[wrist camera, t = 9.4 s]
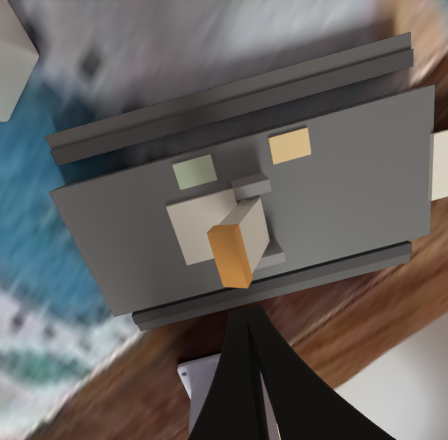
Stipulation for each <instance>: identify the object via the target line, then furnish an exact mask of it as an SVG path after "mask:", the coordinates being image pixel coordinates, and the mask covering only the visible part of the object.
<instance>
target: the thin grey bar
mask: <svg viewBox="0 0 448 440" xmlns="http://www.w3.org/2000/svg"><path fill="white" fill-rule="evenodd" d="M411 253H412V243H411V242H410V241H408V240H407V241H403V242H399V243H396V244H392V245H388V246H384V247H380V248H376V249H373V250H369V251H365V252H361V253H357V254H353V255H350V256H346V257H342V258H338V259H334V260H330V261H327V262H323V263H319V264H315V265H311V266H307V267H304V268H300V269H296V270H292V271H288V272H284V273H281V274H277V275H273V276H269V277H265V278H261V279H258V280H254V281H251V283H250V285H249V287H248V288H235V287H227V288H223V289H219V290H216V291H212V292H208V293H204V294H200V295H196V296H193V297H189V298H185V299H181V300H177V301H173V302H170V303H166V304H162V305H158V306H154V307H150V308H147V309H143V310H139V311H135V312H133V313H132V318H133V320H134V322H135V324H136V325H138V327H139V329H140V331H144V330H148V329H152V328H156V327H160V326H164V325H168V324H171V323H175V322H179V321H183V320H187V319H191V318H195V317H199V316H202V315H206V314H210V313H214V312H218V311H222V310H226V309H229V308H233V307H237V306H241V305H245V304H249V303H253V302H257V301H260V300H264V299H268V298H272V297H276V296H280V295H284V294H287V293H291V292H295V291H299V290H303V289H307V288H311V287H315V286H318V285H322V284H326V283H330V282H334V281H338V280H342V279H345V278H349V277H353V276H357V275H361V274H365V273H369V272H373V271H376V270H380V269H384V268H388V267H392V266H396V265H400V264H403V263H407V262H410V254H411Z"/></svg>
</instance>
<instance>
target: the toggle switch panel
mask: <svg viewBox="0 0 448 440" xmlns="http://www.w3.org/2000/svg"><path fill="white" fill-rule="evenodd" d="M434 99H435V85H430V86H424V87H419V88H413V89H408V90H404V91H401V92H397V93H394V94H390V95H386V96H383V97H379V98H376V99H372V100H368V101H365V102H361V103H358V104H354V105H350V106H347V107H343V108H340V109H336V110H332V111H329V112H325V113H322V114H318V115H314V116H311V117H307V118H304V119H300V120H297V121H293V122H289V123H286V124H282V125H279V126H275V127H271V128H268V129H264V130H261V131H257V132H253V133H250V134H246V135H243V136H239V137H235V138H232V139H228V140H225V141H221V142H217V143H214V144H210V145H207V146H203V147H199V148H196V149H192V150H189V151H185V152H181V153H178V154H174V155H171V156H167V157H164V158H160V159H156V160H153V161H149V162H146V163H142V164H138V165H135V166H131V167H128V168H124V169H120V170H117V171H113V172H110V173H106V174H102V175H99V176H95V177H92V178H88V179H84V180H81V181H77V182H74V183H70V184H66V185H64V186H61V187H59V188H57V189H55V190H52V191H50V192H49V194H50V196H51V198H52V199H53V201H54V203H55V205H56V207H57V209H58V211H59V213H60V215H61V217H62V218H63V220H64V222H65V224H66V226H67V228H68V230H69V232H70V234H71V236H72V237H73V239H74V241H75V243H76V245H77V247H78V249H79V251H80V253H81V255H82V256H83V258H84V260H85V262H86V264H87V266H88V268H89V270H90V272H91V274H92V275H93V277H94V279H95V281H96V283H97V285H98V287H99V289H100V291H101V293H102V294H103V296H104V298H105V300H106V302H107V304H108V306H109V308H110V310H111V312H112V313H113V315H114V317H116V316H120V315H124V314H127V313H131V312H135V311H139V310H143V309H147V308H150V307H154V306H158V305H162V304H166V303H170V302H173V301H177V300H181V299H185V298H189V297H193V296H196V295H200V294H204V293H208V292H212V291H216V290H219V289H223V288H227V287H223V284H222V281H221V278H220V275H219V271H218V268H217V265H216V262H215V259H214V255H213V252H212V249H211V246H210V243H209V239H208V236H207V232H208V231H209V230H210V229H211V228H212V227H213V226H214V225H218V224H219V223H220V222H221V221H222V220H223V219H224V218H225V217H226V216H227V215H228V214H229V213H230V212H231V211H232V210H233V209H234V208H235V207H236V206H237V204H238V203H239V202H240V201H241V200H242V199H244V198H248V197H252V196H255V195H259V194H260V197H261V202H262V206H263V211H264V216H265V220H266V225H267V229H268V234H269V239H270V243H269V244H268V245H267V247H266V249H265V251H264V253H263V255H262V257H261V259H260V260H259V262H258V264H257V266H256V268H255V270H254V272H253V274H252V277H253V279H252V281H254V280H258V279H261V278H265V277H269V276H273V275H277V274H281V273H284V272H288V271H292V270H296V269H300V268H304V267H307V266H311V265H315V264H319V263H323V262H327V261H330V260H334V259H338V258H342V257H346V256H350V255H353V254H357V253H361V252H365V251H369V250H373V249H376V248H380V247H384V246H388V245H392V244H396V243H399V242H403V241H407V240H411V239H415V238H418V237H422V236H426V235H430V214H431V201H432V200H436V199H440V198H444V197H447V196H448V129H447V130H444V131H440V132H436V133H433V128H434Z"/></svg>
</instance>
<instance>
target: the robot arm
mask: <svg viewBox="0 0 448 440" xmlns="http://www.w3.org/2000/svg"><path fill="white" fill-rule="evenodd" d="M177 371H178V373H179V375H180V378H181V380H182V382H183V384H184V386H185V389H186V391H187V393H188V395H189V397H190V399H191V405H190V424H189V437H188V439H187V440H280V438H279V434H278V430H277V425H278V429H279V433H280V437H281V440H396V439H395V438H393V437H392V436H390V435H389V434H388V433H386V432H385V431H384V430H382V429H381V428H380V427H378V426H377V425H376V424H374V423H373V422H372V421H370V420H369V419H368V418H367V417H365V416H364V415H363V414H362V413H360V412H359V411H358V410H357V409H356V408H354V407H353V406H352V405H351V404H349V403H348V402H347V401H346V400H345V399H343V398H342V397H341V396H340V395H339V394H337V393H336V392H335V391H334V390H333V389H332V388H331V387H330V386H328V385H327V384H326V383H325V382H324V381H323V380H322V379H321V378H320V377H319V376H318V375H317V374H316V373H315V372H314V371H313V370H312V369H311V368H310V367H309V366H308V365H307V364H306V363H305V362H304V361H303V360H302V359H301V358H300V357H299V356H298V355H297V353H296V352H295V351H294V350H293V349H292V348H291V347H290V346H289V344H288V343H287V342H286V341H285V339H284V338H283V337H282V336H281V334H280V333H279V332H278V331H277V329H276V328H275V327H274V325H273V324H272V322H271V321H270V319H269V318H268V316H267V314H266V313H265V311H264V309H263V307H262V306H261V305H255V306H251V307H247V308H243V309H239V310H234V311H230V312H229V314H228V322H227V328H226V334H225V339H224V343H223V347H222V351H221V353H220V354H216V355H212V356H208V357H204V358H201V359H197V360H193V361H189V362H185V363H181V364H179V365H178V369H177ZM274 416H275V417H274ZM275 419H276V421H275ZM276 422H277V425H276Z"/></svg>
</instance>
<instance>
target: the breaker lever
mask: <svg viewBox="0 0 448 440" xmlns="http://www.w3.org/2000/svg"><path fill="white" fill-rule="evenodd" d="M207 236H208V239H209V243H210V246H211V249H212V252H213V255H214V259H215V262H216V265H217V268H218V271H219V275H220V278H221V281H222V284H223V287H235V288H248V287H249V285H250V283H251V281H252V279H253V277H252V274H253V272H254V270H255V268H256V266H257V264H258V262H259V260H260V259H261V257H262V255H263V253H264V251H265V249H266V247H267V245H268V244H269V243H270V239H269V234H268V229H267V225H266V220H265V216H264V211H263V206H262V202H261V197H260V194H259V195H255V196H252V197H248V198H244V199H242V200H241V201H240V202H239V203H238V204H237V206H236V207H235V208H234V209H233V210H232V211H231V212H230V213H229V214H228V215H227V216H226V217H225V218H224V219H223V220H222V221H221V222H220V223H219V224H218V225H214V226H213V227H212V228H211V229H210V230H209V231H208V232H207Z"/></svg>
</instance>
